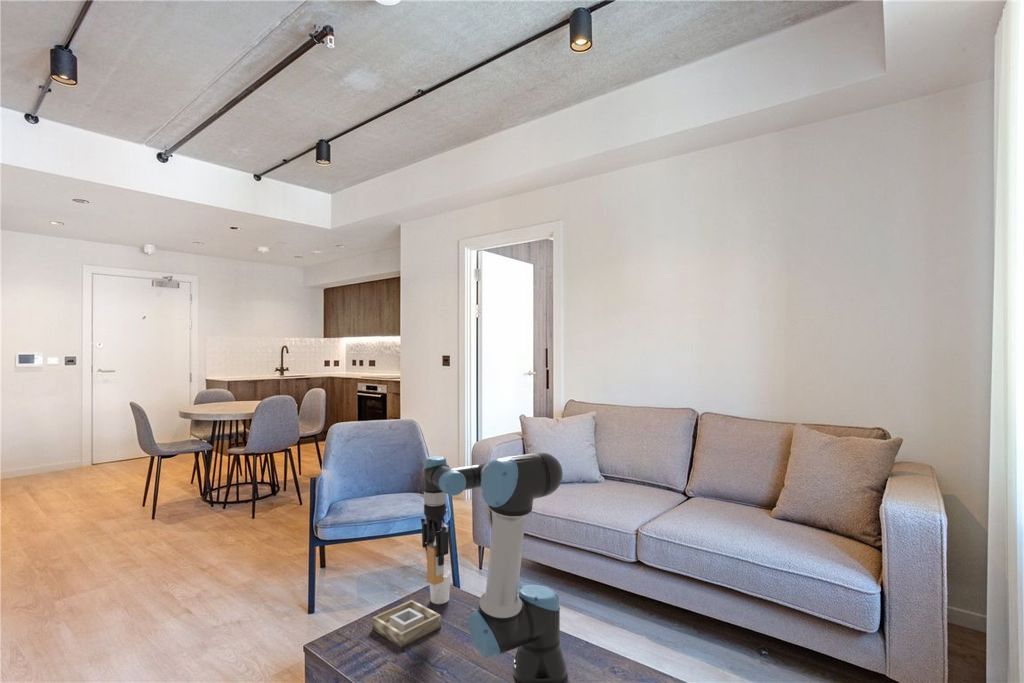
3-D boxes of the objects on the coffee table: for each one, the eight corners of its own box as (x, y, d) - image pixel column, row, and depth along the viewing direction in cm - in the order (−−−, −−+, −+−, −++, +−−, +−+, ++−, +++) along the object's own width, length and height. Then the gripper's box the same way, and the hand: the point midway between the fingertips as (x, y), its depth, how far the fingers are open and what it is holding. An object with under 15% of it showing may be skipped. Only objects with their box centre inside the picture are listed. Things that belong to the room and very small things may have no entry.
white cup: (454, 597, 191) (454, 570, 191) (443, 606, 184) (443, 578, 184) (436, 593, 194) (436, 566, 195) (425, 602, 187) (424, 575, 188)
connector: (443, 581, 173) (443, 543, 173) (434, 585, 170) (434, 546, 170) (436, 577, 176) (436, 540, 176) (427, 581, 173) (427, 543, 173)
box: (441, 627, 170) (440, 614, 170) (401, 647, 158) (401, 634, 159) (411, 611, 181) (411, 599, 181) (372, 629, 169) (372, 617, 169)
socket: (423, 624, 170) (423, 615, 170) (404, 634, 164) (404, 625, 164) (409, 616, 175) (409, 607, 175) (389, 625, 169) (389, 616, 170)
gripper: (459, 505, 170) (459, 576, 170) (429, 495, 182) (429, 561, 182) (441, 511, 164) (441, 584, 164) (411, 500, 176) (411, 568, 176)
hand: (435, 572), depth 173 cm, fingers closed on connector, 4 cm apart
